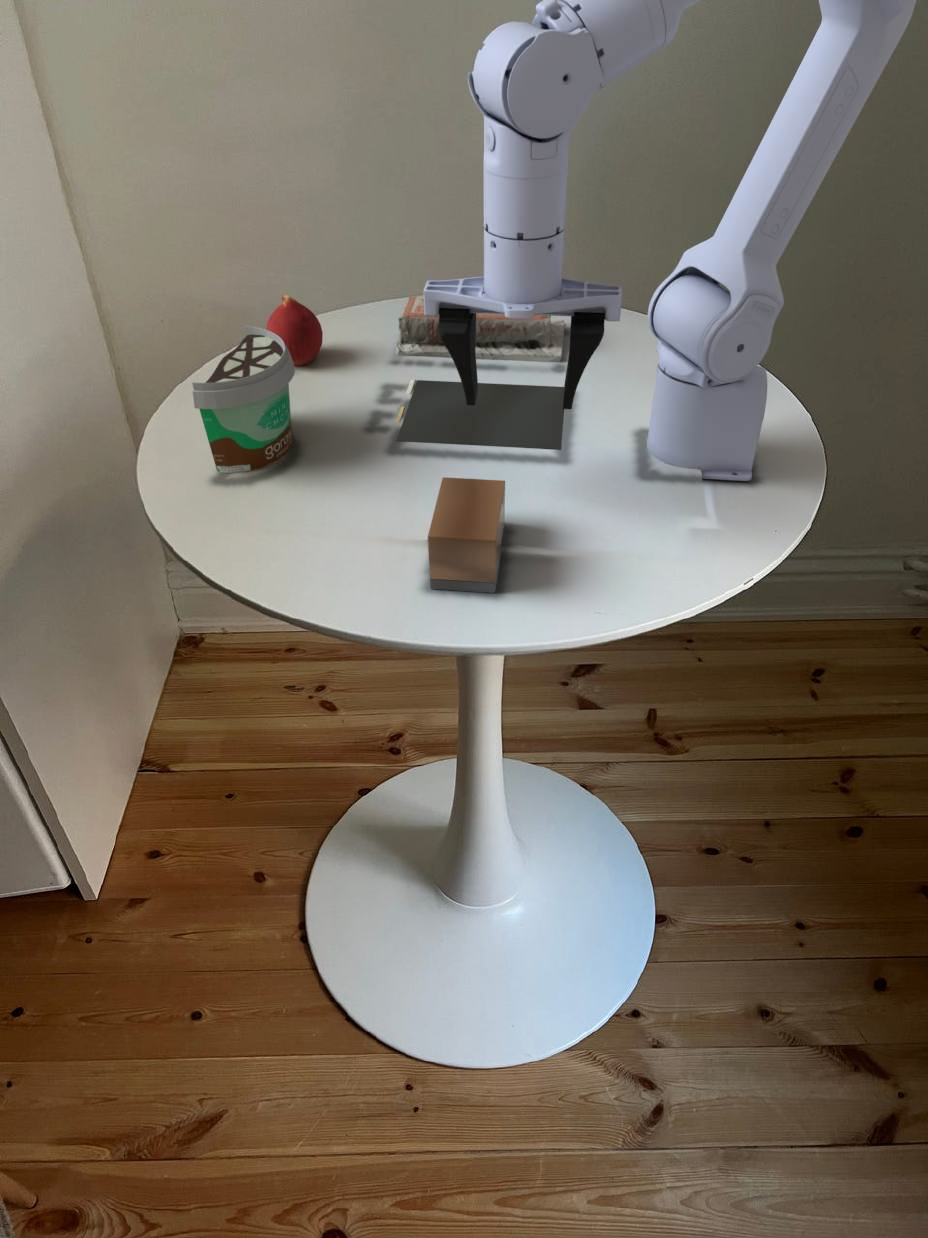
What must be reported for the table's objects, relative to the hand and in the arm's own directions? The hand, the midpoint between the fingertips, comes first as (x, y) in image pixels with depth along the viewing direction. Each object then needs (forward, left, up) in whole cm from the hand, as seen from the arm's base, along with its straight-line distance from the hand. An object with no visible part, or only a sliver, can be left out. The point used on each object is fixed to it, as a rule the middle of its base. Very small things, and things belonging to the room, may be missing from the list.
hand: (519, 401), depth 74 cm
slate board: (+4, -13, -9) cm, 16 cm away
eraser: (+3, +9, -9) cm, 13 cm away
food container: (+23, -4, -9) cm, 25 cm away
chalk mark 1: (+13, -12, -9) cm, 20 cm away
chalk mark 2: (+13, -17, -9) cm, 23 cm away
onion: (+25, -22, -9) cm, 35 cm away
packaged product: (+6, -29, -9) cm, 31 cm away
